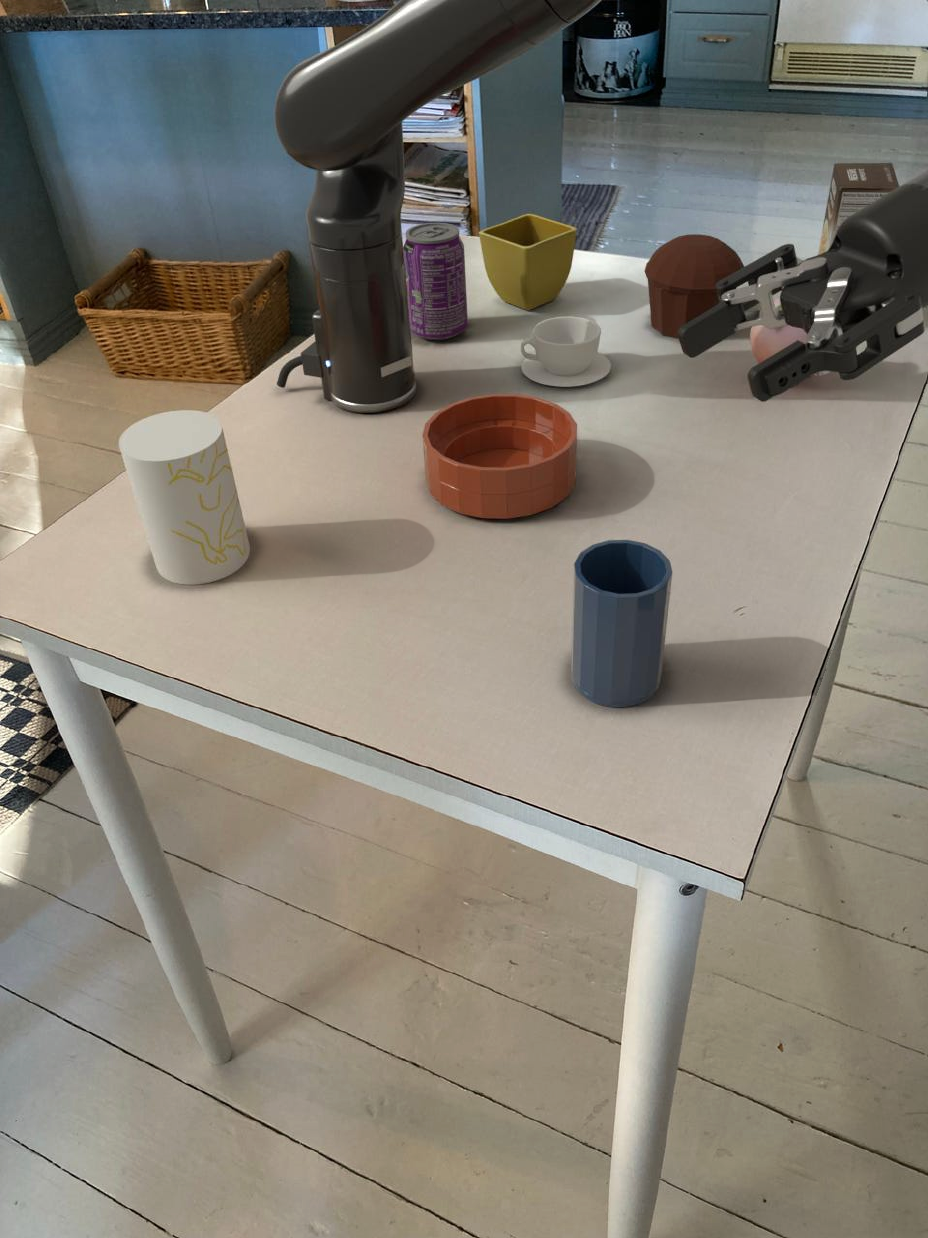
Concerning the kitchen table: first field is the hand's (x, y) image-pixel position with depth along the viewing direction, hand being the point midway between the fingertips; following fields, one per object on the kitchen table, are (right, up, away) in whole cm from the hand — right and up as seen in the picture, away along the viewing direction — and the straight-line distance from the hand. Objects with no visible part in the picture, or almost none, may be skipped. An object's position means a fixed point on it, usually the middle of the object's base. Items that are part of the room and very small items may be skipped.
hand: (716, 365), depth 64 cm
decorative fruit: (+18, +9, +43) cm, 48 cm away
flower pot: (-8, +24, +63) cm, 68 cm away
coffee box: (+29, +20, +55) cm, 65 cm away
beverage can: (-19, +18, +57) cm, 63 cm away
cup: (-39, -11, +23) cm, 47 cm away
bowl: (-13, -3, +30) cm, 33 cm away
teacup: (-5, +11, +47) cm, 49 cm away
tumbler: (-5, -21, +9) cm, 23 cm away
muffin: (+11, +19, +55) cm, 59 cm away
